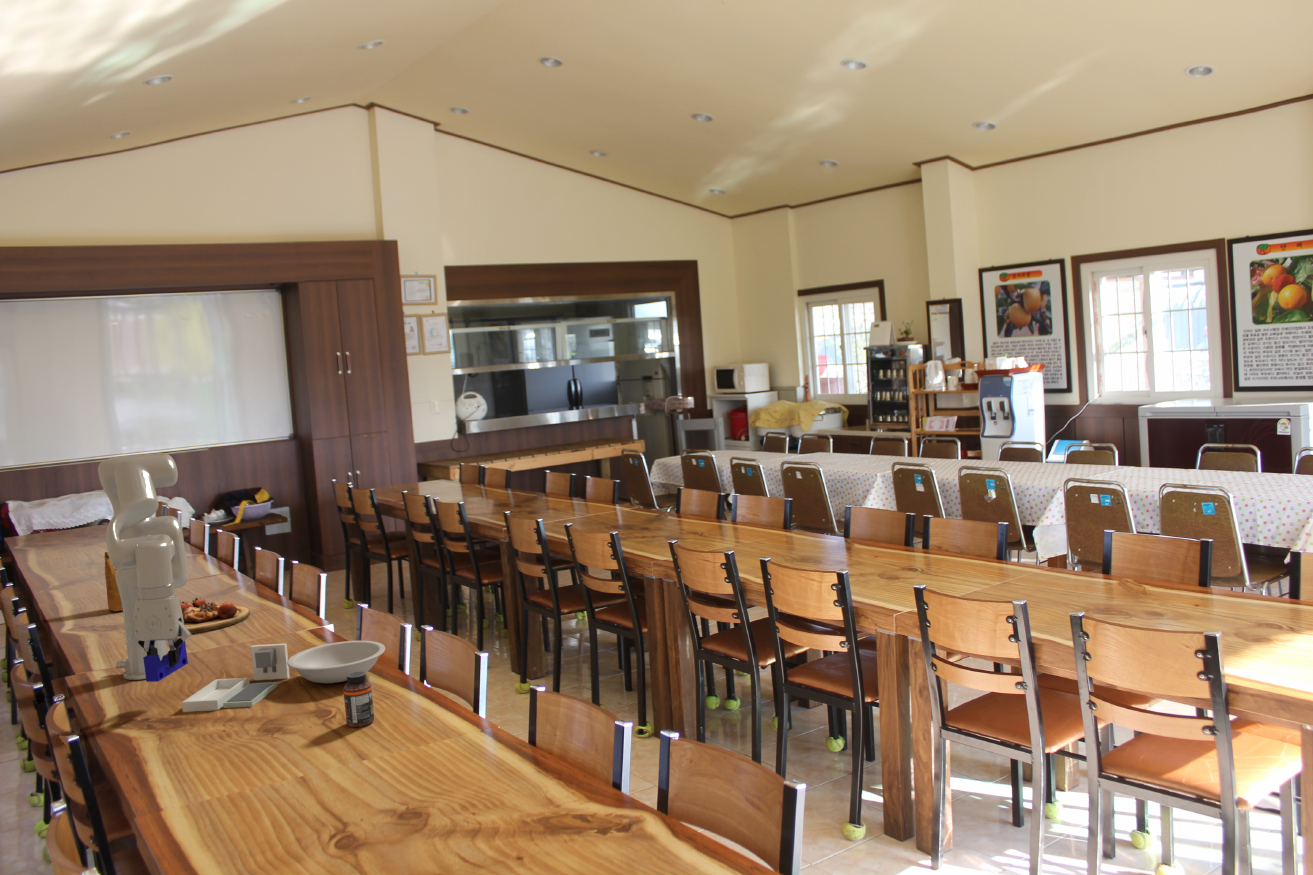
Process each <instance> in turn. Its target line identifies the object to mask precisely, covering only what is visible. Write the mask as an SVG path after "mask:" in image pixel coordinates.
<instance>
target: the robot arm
mask: <svg viewBox="0 0 1313 875" xmlns="http://www.w3.org/2000/svg"><path fill="white" fill-rule="evenodd" d="M97 468H98V469H97V473H98V478H99V482H100V484H101V486H102V490H103V491H104V493H105V494H106V496H107V498H108V500H109V502H110V504H111V506H112V510H113V516H112V517H111V519H110V520H109V522H108V525H107V528H106V532H105V541H106V547H107V552H108V555H109V559H110V563H111V565H112V566H113V567H114V568H115V569H117V570H116V574H115V576H116V582H117V586H118V589H119V593H120V597H121V602H122V608H123V611H122V613H123V614H122V615H123V622H124V630H125V639H126V640H125V641H126V649H127V650H126V651H127V659H126V658H123V659H119V658H118V659H117V660H116V663H115V664H116V665H115V668H116V669H124V670H125V671H124V672H123V674H122V675H123V679H125V680H130V681H132V680H133V681H136V680H137V681H138V680H146V675H145V667H144V660H143V657H145V656H147V655H159V657H160V661H161V660H162V657H163V656H164V655H166V654H167V653H168V658H169V666H170V667H173V666H175V665H177V664H178V663H179V660H180V657H179V647H180V646H181V644H182V643H183V642H184V641H185V642H186V640H188V639H189V638H190V637H191V636H192V633H190V632H189V631H188V630H187V628H186V627H185V626H184V620H183V614H182V609H181V605H180V599H179V597H178V595H177V594H175V589H179V588H182V587H184V586H186V584H187V583H188V582H189V581H188V580H189V568H188V560H187V555H186V546H185V540H184V539H185V538H184V534H183V529H182V525H181V522H180V521H179V519H178V518H177V517H176V516H172V515H163V516H155V517H154V516H153V515H154V514H156V512H157V511H158V509H159V505H160V504H159V500H158V496H157V491H156V489H158V488H159V489H160V488H167V487H172V486H174V485H176V484H177V482H178V478H179V475H178V474H179V473H178V468H177V464H176V461H175V460H174V458H173V457H172V455H171V454H170V455H169V454H168V453H165V452H158V453H157V452H156V453H144V454H131V455H121V456H115V457H114V456H113V457H110V458H106V459H104V460H102V461H100V463H99V465H98V467H97ZM152 516H153V517H152ZM179 634H182V635H179ZM179 636H180V637H179ZM167 644H168V646H167ZM168 647H169V650H168Z"/></svg>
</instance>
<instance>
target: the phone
mask: <svg viewBox="0 0 1313 875" xmlns="http://www.w3.org/2000/svg"><path fill="white" fill-rule="evenodd" d="M276 688H278V682H277V681H273V682H260V683H259V682H256V683H250V684H249V685H247V686H246V687H245V688H243V689H242V690H240V691H239V692H238V693H236V694H235V695H234V696H232V697H231V698H229V699H228V700H227V701H225V702H224V703H223V707H222V708H223V709H229V708H233V709H234V708H249V707H251V708H252V707H253V706H255V705H256V704H257V703H260V701H261V700H262V699H263V698H266V696H267V695H269V694H271V692H273V691H274V690H276Z"/></svg>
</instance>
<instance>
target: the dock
mask: <svg viewBox="0 0 1313 875" xmlns="http://www.w3.org/2000/svg"><path fill="white" fill-rule="evenodd" d="M249 684H251V683H250V677H238V678H237V677H236V678H235V677H234V678H216V679H214V680H213V681H211V682H210V683H208V684H207V685H205V686H204V687H203V688H200V689H199V690H198V691H196V692H195V693H194V694H192V695H190V696H189V697H188V698H186V699H184V700H183V701H181V707H182V708H181V709H182V713H190V712H192V713H193V712H205V711H206V712H208V711H210V712H211V711H219V710H220V709H221V708H224V707H223V703H224V702H225V701H227V700H228V699H229V698H231V697H232V696H234V695H235V694H236V693H238V692H239V691H240V690H242V689H243V688H245V687H246V686H247V685H249Z"/></svg>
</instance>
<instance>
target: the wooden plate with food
mask: <svg viewBox="0 0 1313 875" xmlns="http://www.w3.org/2000/svg"><path fill="white" fill-rule="evenodd" d="M179 602H180V601H179ZM180 605H181V609H182V614H183V620H184V626H185V627H186V628H187V630H188V631H189V632H190V633H191V634H197V633H204V632H207V631H212V630H216V629H221V628H226V627H229V626H232V625H235V624H238V623H240V622H243V621H244V620H246V619H247V618H249V616H250V614H251V613H250V609H249V608H247V607H246V606H240V605H239V606H238V605H237V606H236V605H235V604H233V603H232V602H225V603H222V604H215V603H214V602H206V600H205V599H203V598H202V597H200V598H199V597H195V599H193V600H192V602H185V601H182V602H180ZM178 636H182V634H179V635H178Z"/></svg>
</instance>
